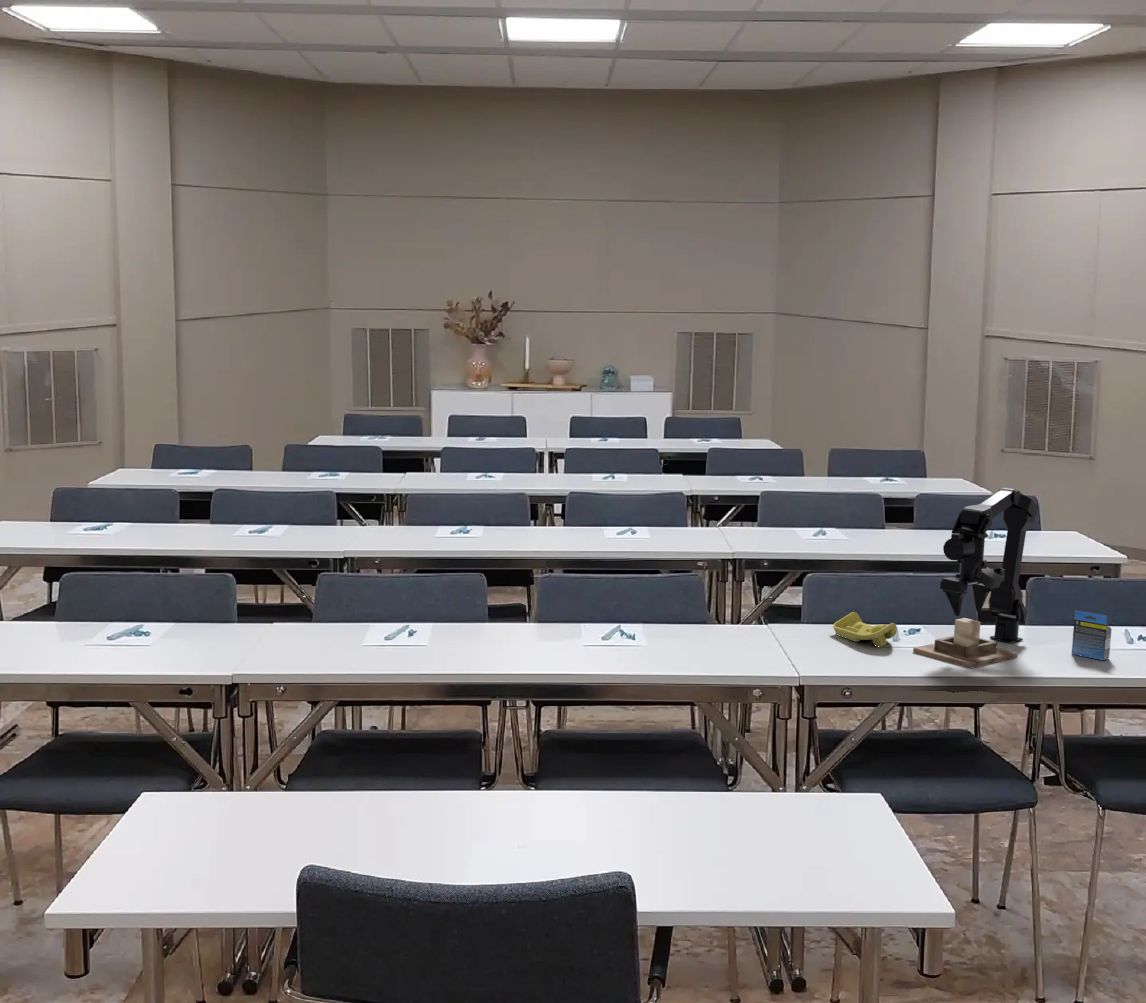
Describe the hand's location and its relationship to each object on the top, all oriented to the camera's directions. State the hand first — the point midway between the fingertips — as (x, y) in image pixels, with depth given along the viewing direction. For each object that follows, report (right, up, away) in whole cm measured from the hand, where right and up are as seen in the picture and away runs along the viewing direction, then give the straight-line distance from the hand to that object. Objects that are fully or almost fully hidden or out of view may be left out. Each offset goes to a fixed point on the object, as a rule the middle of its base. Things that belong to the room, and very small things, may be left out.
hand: (968, 613), depth 339 cm
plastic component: (-25, -9, +12) cm, 29 cm away
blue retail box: (+33, -12, +2) cm, 35 cm away
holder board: (-1, -11, 0) cm, 11 cm away
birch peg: (-1, -10, 0) cm, 10 cm away
